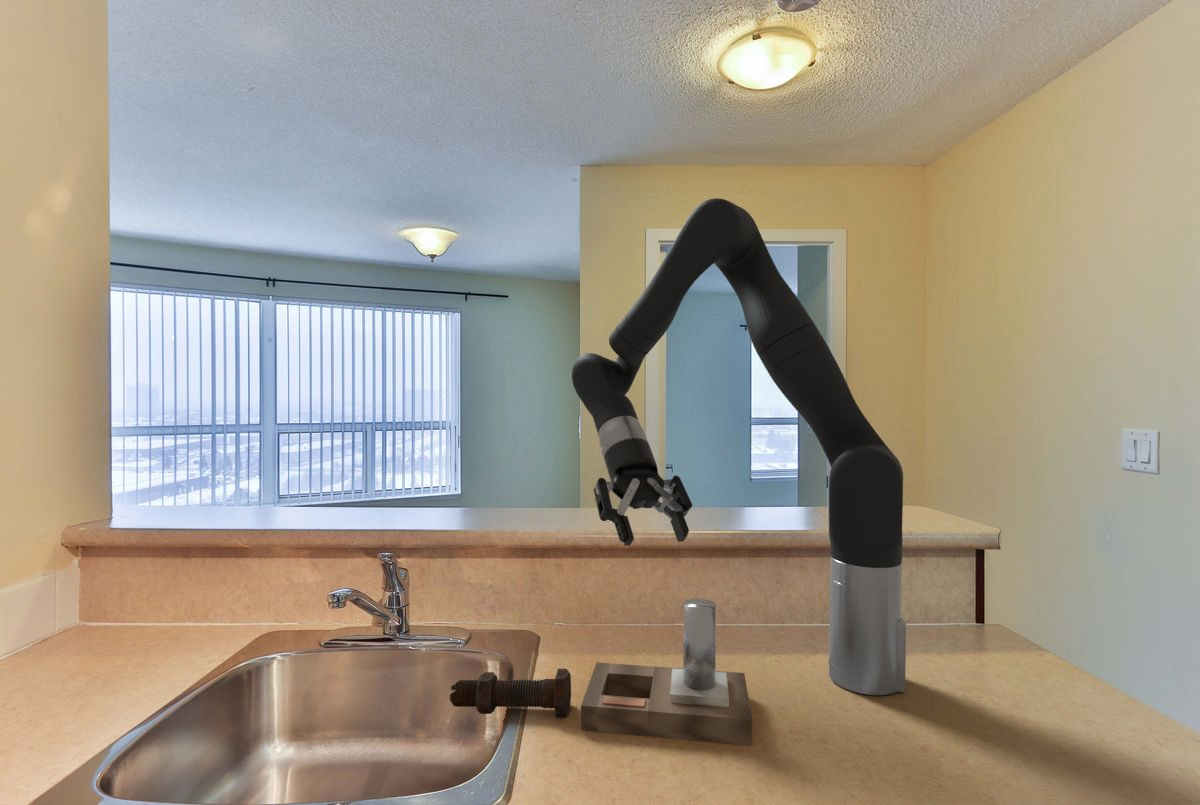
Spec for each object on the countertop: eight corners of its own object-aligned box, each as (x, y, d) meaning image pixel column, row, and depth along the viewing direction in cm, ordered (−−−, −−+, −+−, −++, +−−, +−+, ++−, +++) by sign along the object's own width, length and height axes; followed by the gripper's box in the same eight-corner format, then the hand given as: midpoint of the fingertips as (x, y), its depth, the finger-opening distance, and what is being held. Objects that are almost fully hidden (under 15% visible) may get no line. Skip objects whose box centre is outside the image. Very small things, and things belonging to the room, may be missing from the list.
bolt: (455, 719, 81) (570, 719, 80) (444, 717, 77) (565, 718, 76) (460, 670, 84) (571, 670, 83) (450, 666, 79) (567, 666, 78)
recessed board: (744, 695, 84) (744, 665, 84) (752, 745, 72) (752, 711, 72) (596, 683, 87) (596, 655, 87) (580, 730, 75) (580, 697, 75)
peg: (714, 676, 80) (715, 599, 80) (715, 691, 76) (716, 610, 76) (683, 674, 81) (684, 597, 81) (682, 689, 77) (683, 608, 77)
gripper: (591, 436, 94) (619, 529, 84) (674, 435, 99) (710, 523, 89) (578, 466, 99) (603, 558, 89) (658, 464, 104) (690, 550, 94)
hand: (657, 540), depth 89 cm, fingers open, 8 cm apart
